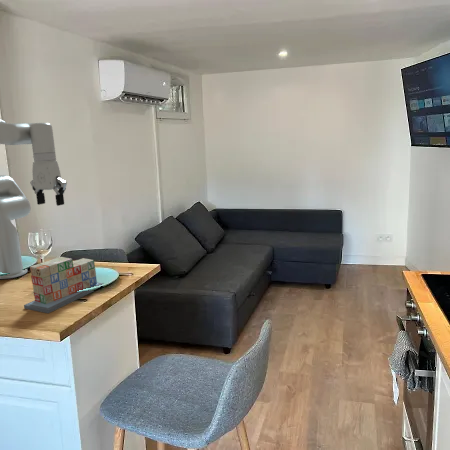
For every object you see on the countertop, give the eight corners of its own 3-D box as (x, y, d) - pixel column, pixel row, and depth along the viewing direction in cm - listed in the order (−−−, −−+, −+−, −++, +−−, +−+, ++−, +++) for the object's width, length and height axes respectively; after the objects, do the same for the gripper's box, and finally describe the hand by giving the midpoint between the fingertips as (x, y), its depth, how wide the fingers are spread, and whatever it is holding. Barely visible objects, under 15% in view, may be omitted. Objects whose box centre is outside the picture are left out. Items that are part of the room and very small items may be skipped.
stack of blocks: (86, 281, 169) (82, 249, 166) (97, 284, 165) (93, 252, 162) (34, 300, 152) (29, 265, 149) (45, 304, 148) (40, 268, 145)
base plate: (24, 308, 149) (23, 304, 149) (81, 282, 171) (80, 279, 171) (48, 313, 144) (47, 309, 144) (103, 286, 167) (103, 283, 166)
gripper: (19, 158, 164) (26, 205, 168) (54, 158, 156) (60, 207, 160) (36, 157, 170) (42, 201, 174) (70, 156, 163) (75, 203, 166)
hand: (50, 204), depth 167 cm, fingers open, 9 cm apart
